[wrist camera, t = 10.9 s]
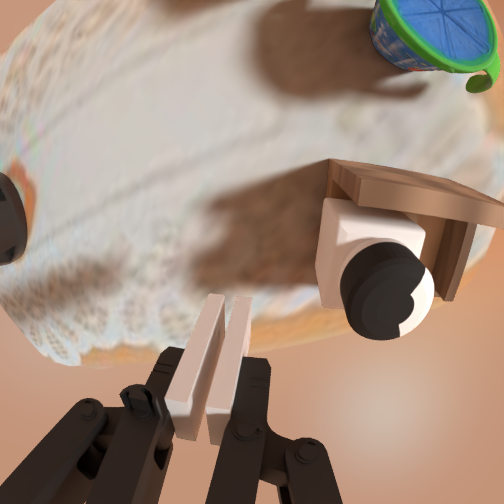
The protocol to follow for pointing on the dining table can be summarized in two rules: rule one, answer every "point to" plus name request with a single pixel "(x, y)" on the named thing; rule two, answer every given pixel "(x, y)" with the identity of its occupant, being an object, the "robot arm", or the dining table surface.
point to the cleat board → (422, 212)
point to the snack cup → (438, 37)
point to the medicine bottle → (372, 268)
